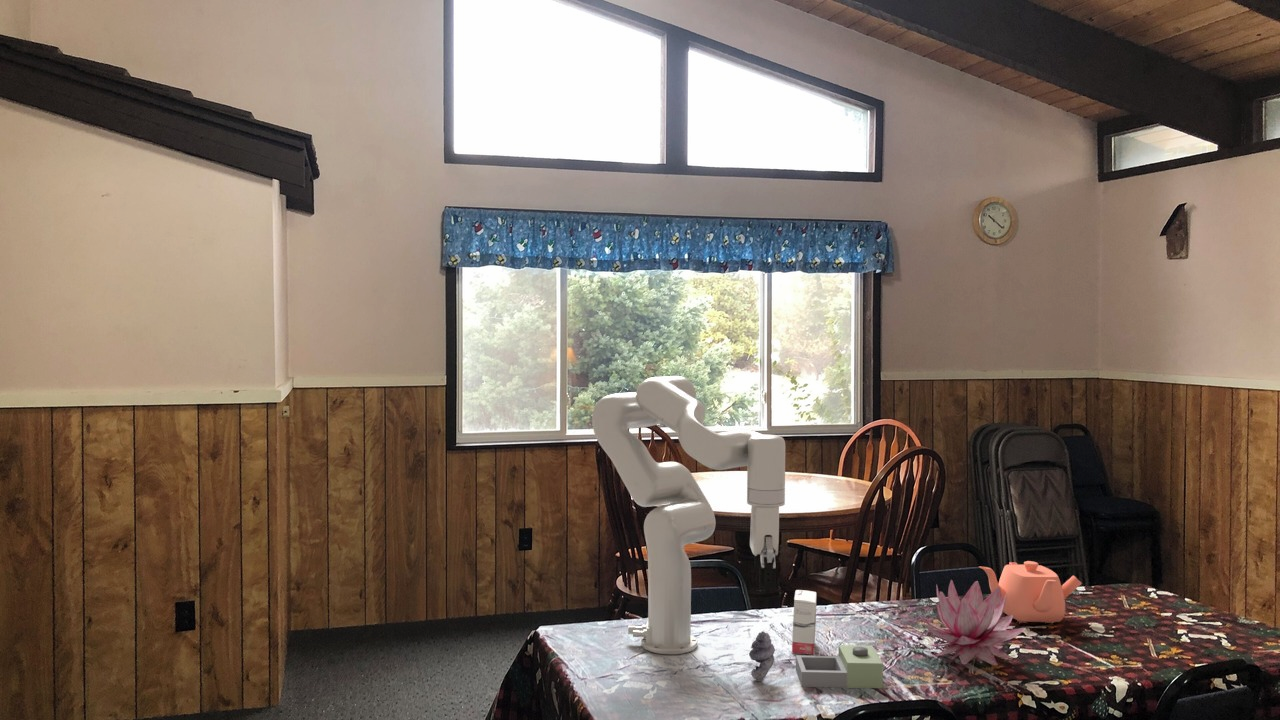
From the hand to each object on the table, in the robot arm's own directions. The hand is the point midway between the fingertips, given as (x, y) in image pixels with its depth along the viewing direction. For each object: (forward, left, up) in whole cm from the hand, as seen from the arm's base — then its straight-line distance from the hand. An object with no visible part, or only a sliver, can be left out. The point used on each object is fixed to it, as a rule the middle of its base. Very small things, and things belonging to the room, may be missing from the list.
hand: (764, 580), depth 187 cm
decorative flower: (+46, +15, -21) cm, 52 cm away
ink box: (+11, +19, -21) cm, 30 cm away
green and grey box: (+15, +2, -20) cm, 25 cm away
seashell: (0, 0, -21) cm, 21 cm away
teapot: (+69, +42, -21) cm, 83 cm away
